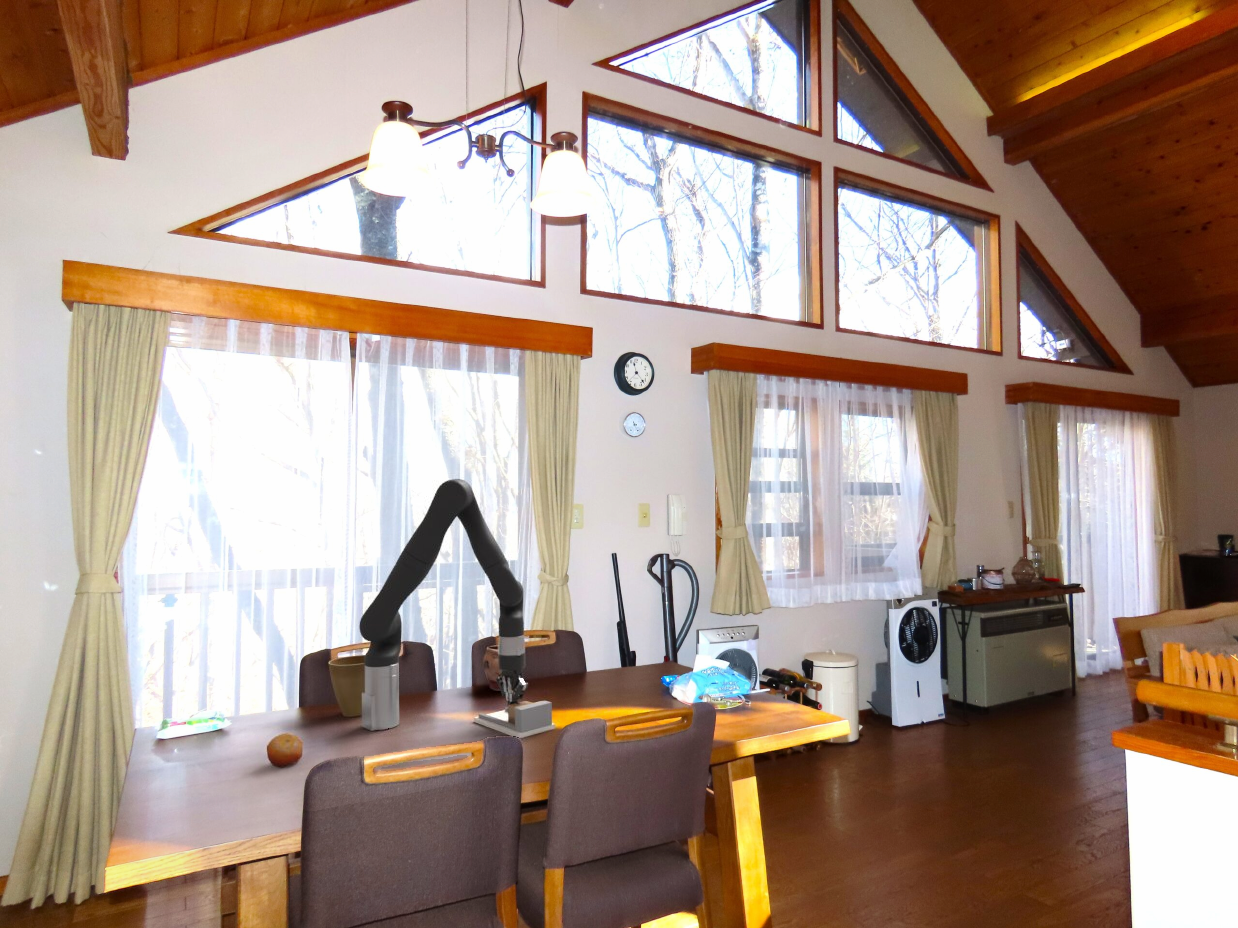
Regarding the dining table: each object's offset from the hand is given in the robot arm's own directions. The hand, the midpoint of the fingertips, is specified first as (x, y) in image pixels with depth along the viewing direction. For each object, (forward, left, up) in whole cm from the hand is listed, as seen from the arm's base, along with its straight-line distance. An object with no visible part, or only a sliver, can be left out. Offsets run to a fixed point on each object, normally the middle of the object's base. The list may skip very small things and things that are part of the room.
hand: (512, 713), depth 212 cm
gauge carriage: (0, -6, -1) cm, 6 cm away
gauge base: (0, -1, -3) cm, 3 cm away
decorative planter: (+22, +38, -3) cm, 44 cm away
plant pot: (-26, +44, -3) cm, 52 cm away
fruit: (-57, +13, -3) cm, 59 cm away
